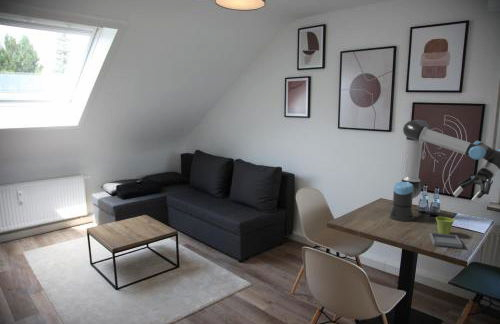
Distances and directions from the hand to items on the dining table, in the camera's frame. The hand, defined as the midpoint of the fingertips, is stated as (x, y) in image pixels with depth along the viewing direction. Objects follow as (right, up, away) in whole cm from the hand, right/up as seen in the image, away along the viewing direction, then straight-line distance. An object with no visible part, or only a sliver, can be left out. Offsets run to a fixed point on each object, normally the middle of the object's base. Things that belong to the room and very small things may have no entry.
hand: (463, 198), depth 200 cm
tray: (-18, -23, -12) cm, 31 cm away
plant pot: (-11, -21, +1) cm, 24 cm away
